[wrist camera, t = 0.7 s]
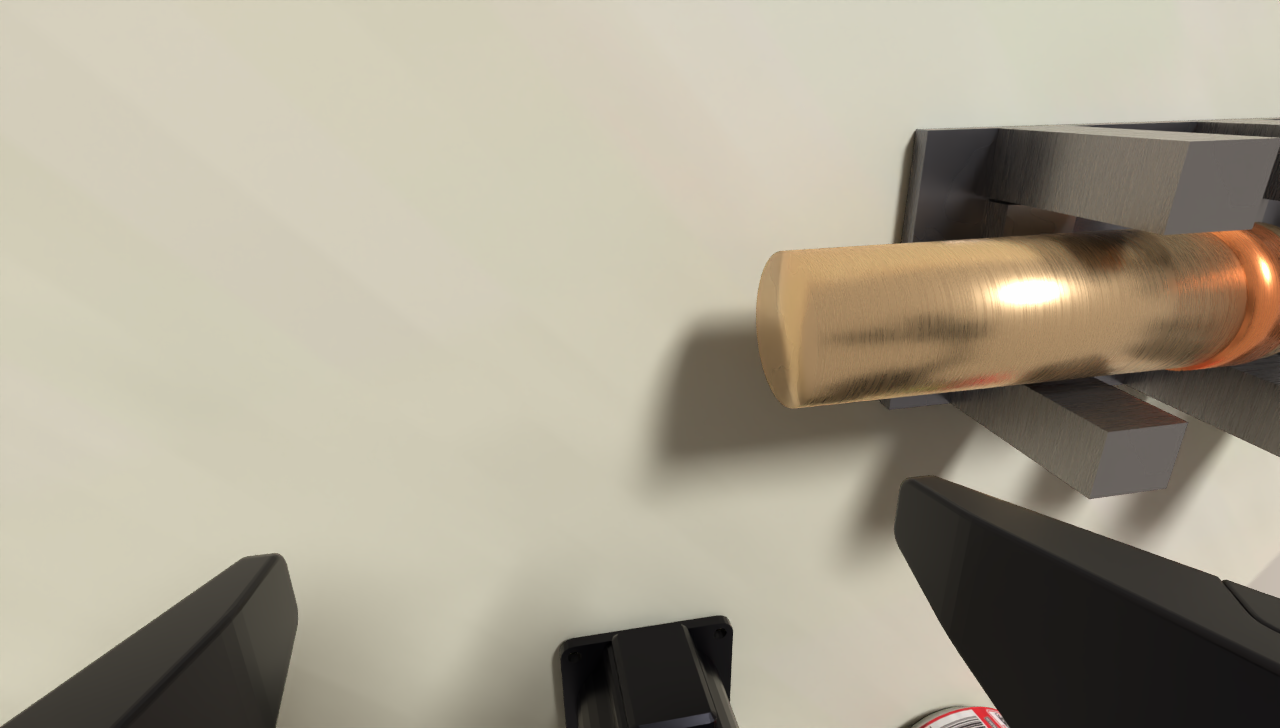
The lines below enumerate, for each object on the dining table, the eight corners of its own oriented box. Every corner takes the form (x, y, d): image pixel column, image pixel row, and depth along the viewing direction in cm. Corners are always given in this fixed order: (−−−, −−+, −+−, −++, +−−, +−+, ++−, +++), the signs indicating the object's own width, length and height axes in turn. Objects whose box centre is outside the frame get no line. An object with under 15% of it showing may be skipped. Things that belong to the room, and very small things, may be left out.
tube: (1155, 335, 22) (1292, 387, 18) (751, 374, 20) (812, 442, 16) (1192, 207, 20) (1352, 233, 17) (758, 232, 18) (827, 269, 14)
